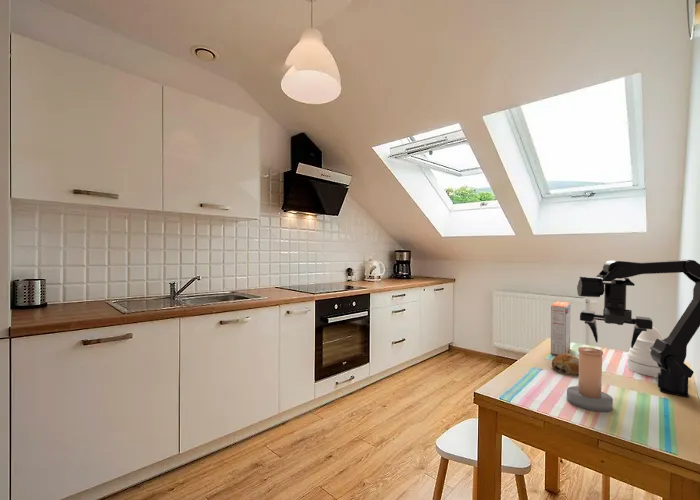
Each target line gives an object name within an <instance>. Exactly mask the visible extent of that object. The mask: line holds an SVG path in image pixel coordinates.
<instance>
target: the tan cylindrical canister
mask: <svg viewBox="0 0 700 500" xmlns="http://www.w3.org/2000/svg"><path fill="white" fill-rule="evenodd" d="M577 351H578V358H579V375H578V385H577V386H578V393H579V394H581V395H583V396H585V397H589V398H601V391H602V384H603V381H602V380H603V379H602V376H603V374H602V373H603V372H602V371H603V356H604V351H603V350H602V349H598V348H594V347H588V346H579V347H578V349H577Z"/></svg>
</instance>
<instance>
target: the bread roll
mask: <svg viewBox="0 0 700 500" xmlns="http://www.w3.org/2000/svg"><path fill="white" fill-rule="evenodd" d="M551 368H552V369H553V370H554V371H556V372H559V373H561V374H565V373H566V375H571V374H573V375H574V376H576V375H577V376H579V375H578V374H579V356H576V355H574V354H571V353H569V352H568V353H564V354H560V355H556V356H555V357H553V359H552V361H551Z"/></svg>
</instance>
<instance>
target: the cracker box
mask: <svg viewBox="0 0 700 500" xmlns="http://www.w3.org/2000/svg"><path fill="white" fill-rule="evenodd" d="M570 348H571V302H570V301H569V302H567V301H561V300H560V301H558V300H556V301H555V302H554V303H552V304H551V306H550V354H551V355H556V356H558V355H560V354H564V353H568V354H569V351H570Z"/></svg>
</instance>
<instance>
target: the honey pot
mask: <svg viewBox="0 0 700 500" xmlns="http://www.w3.org/2000/svg"><path fill="white" fill-rule="evenodd" d="M657 338H658V339H660V340H664V339H665V338H664V337H663V335H662V333H661V332H660V331H659V329H657V328H656V327H655V326H653V327H652V329H647V331H642V332H641V333H640V335H639V336H638V338H637V340H636V342H635V344H634V346H633V348H631V347H630V348H629V351H628V352H627V358H626V359H627V361H626V362H627V365H626V367H627V369H628V370H630V371H632V372H634V373H637V374H640V375H644V376H649V377H654V378H658V373H660V368H661V367H659V366H658V364H657V362H656V361H654V360H653V359H652V357H651V354H650V353H651V350H652V349H650V347H652V346H653V345H654V343H655V340H656V339H657Z"/></svg>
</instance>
